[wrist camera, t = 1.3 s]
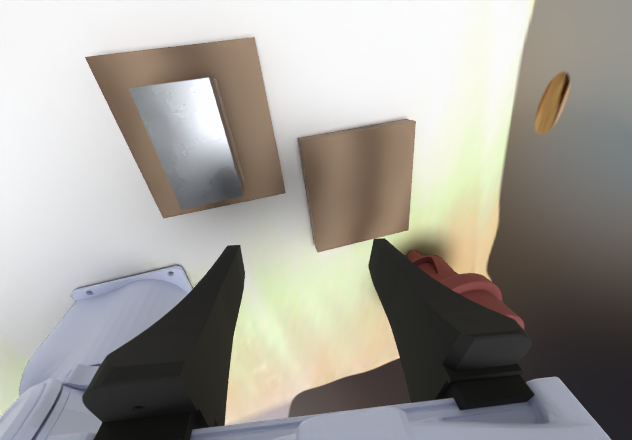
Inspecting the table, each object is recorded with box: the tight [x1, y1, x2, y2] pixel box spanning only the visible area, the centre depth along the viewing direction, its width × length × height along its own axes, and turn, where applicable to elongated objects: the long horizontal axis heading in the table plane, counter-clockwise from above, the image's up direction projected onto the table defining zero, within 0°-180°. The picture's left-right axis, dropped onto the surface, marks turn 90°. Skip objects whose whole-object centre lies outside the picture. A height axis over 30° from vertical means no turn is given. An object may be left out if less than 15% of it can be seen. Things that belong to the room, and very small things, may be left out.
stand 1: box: [85, 37, 285, 218], centre depth 19 cm, size 10×11×2 cm
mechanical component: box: [406, 251, 524, 329], centre depth 27 cm, size 12×10×10 cm
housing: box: [128, 78, 244, 209], centre depth 17 cm, size 4×7×4 cm, turn 7°
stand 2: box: [298, 119, 416, 252], centre depth 24 cm, size 10×11×2 cm
